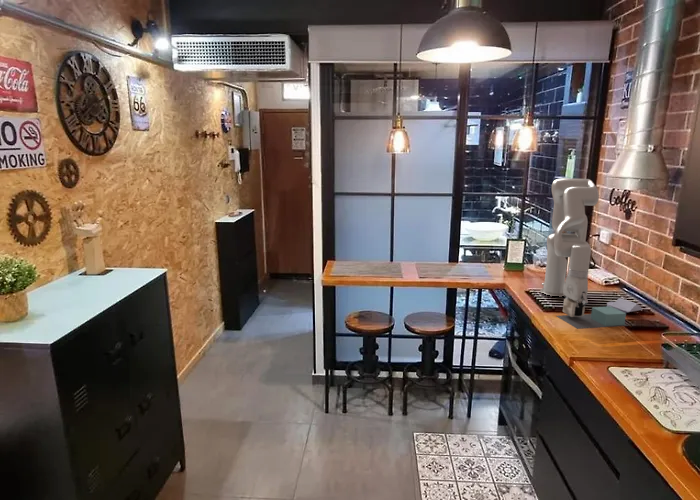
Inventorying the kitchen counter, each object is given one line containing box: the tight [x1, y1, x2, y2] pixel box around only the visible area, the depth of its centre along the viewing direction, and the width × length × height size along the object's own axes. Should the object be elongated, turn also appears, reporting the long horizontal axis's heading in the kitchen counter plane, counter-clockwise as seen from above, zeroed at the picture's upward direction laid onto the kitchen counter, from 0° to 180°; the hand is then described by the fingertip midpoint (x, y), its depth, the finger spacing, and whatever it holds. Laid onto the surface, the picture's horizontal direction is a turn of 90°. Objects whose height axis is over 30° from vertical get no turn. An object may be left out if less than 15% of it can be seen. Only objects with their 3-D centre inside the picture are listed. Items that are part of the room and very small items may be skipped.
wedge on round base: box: [606, 297, 644, 314], centre depth 208 cm, size 9×7×13 cm
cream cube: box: [562, 298, 586, 317], centre depth 199 cm, size 6×6×6 cm
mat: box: [556, 313, 630, 330], centre depth 197 cm, size 15×24×1 cm, turn 99°
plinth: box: [590, 306, 627, 326], centre depth 195 cm, size 9×9×5 cm
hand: (573, 312), depth 199 cm, fingers closed on cream cube, 6 cm apart
